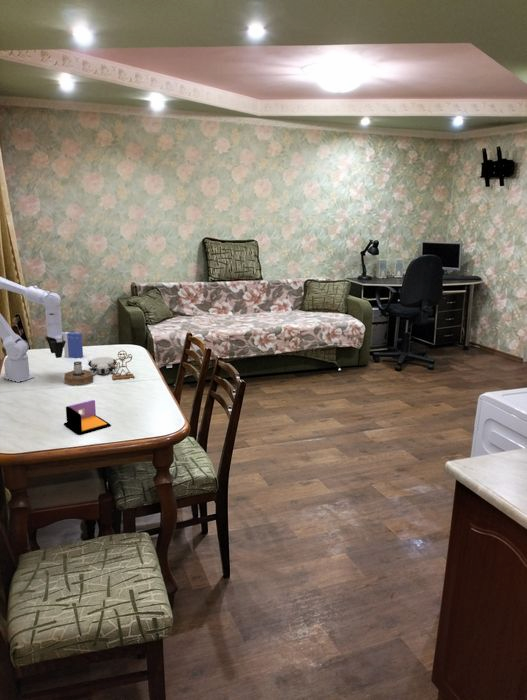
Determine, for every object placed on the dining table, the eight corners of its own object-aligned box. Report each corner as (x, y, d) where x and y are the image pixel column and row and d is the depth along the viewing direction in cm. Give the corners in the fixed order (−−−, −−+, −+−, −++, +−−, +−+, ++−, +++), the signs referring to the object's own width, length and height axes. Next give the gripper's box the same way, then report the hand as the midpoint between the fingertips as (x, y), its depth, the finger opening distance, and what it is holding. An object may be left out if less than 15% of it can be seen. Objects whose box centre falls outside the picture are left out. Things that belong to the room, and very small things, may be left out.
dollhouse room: (62, 425, 182) (60, 405, 180) (95, 416, 190) (94, 397, 188) (78, 436, 174) (77, 416, 172) (112, 427, 182) (111, 407, 180)
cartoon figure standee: (113, 380, 226) (111, 352, 223) (111, 377, 230) (110, 350, 227) (134, 378, 230) (133, 351, 226) (133, 375, 233) (132, 348, 230)
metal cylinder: (73, 381, 223) (72, 362, 221) (78, 379, 226) (77, 361, 224) (78, 382, 222) (77, 364, 220) (84, 380, 225) (83, 362, 223)
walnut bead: (58, 382, 222) (58, 375, 221) (79, 375, 231) (79, 368, 231) (78, 387, 217) (77, 380, 216) (98, 379, 226) (98, 372, 226)
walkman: (83, 356, 258) (81, 332, 254) (80, 358, 255) (79, 333, 252) (67, 355, 258) (65, 331, 255) (64, 357, 256) (62, 332, 252)
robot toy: (118, 377, 233) (116, 364, 247) (117, 367, 232) (116, 355, 245) (88, 379, 230) (88, 366, 243) (87, 369, 228) (87, 356, 242)
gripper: (69, 325, 217) (71, 358, 221) (59, 318, 229) (61, 349, 232) (50, 327, 213) (53, 360, 217) (41, 320, 225) (44, 351, 229)
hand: (56, 355), depth 224 cm, fingers open, 7 cm apart
